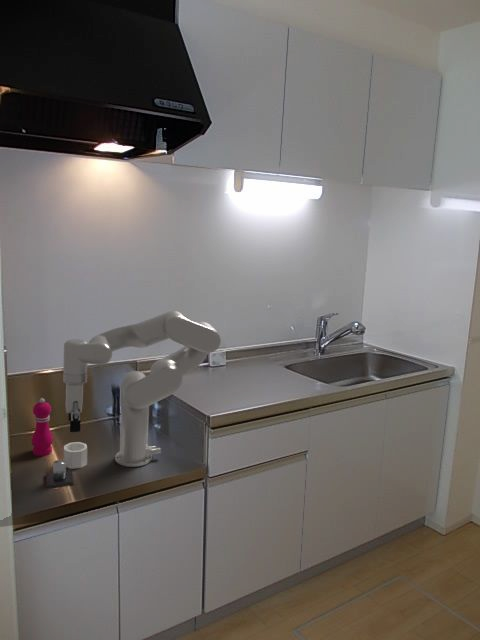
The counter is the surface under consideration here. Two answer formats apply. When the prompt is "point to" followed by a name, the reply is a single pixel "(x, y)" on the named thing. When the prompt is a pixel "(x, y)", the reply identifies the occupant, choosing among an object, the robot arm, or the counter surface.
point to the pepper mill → (42, 429)
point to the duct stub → (59, 475)
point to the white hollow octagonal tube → (75, 455)
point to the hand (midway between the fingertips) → (74, 425)
